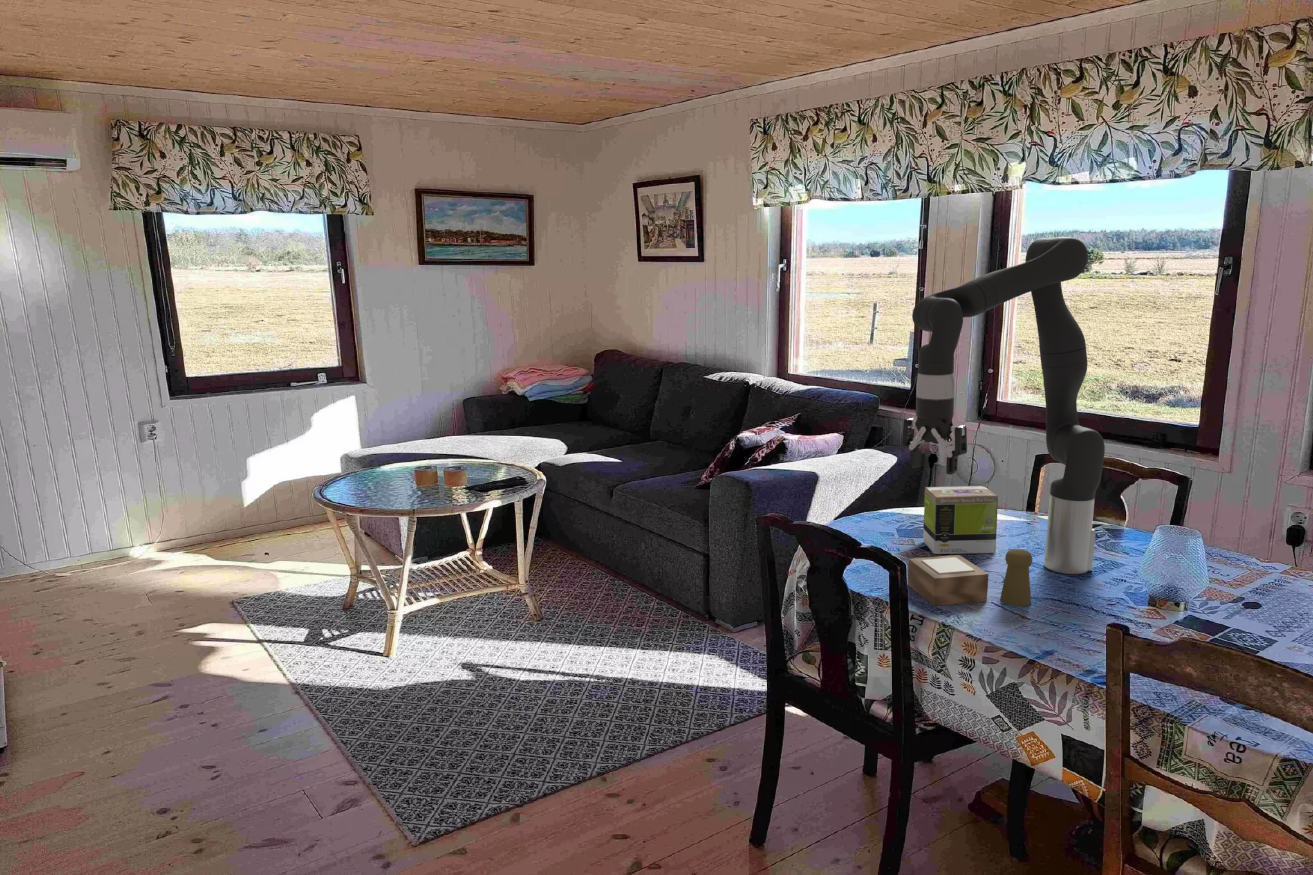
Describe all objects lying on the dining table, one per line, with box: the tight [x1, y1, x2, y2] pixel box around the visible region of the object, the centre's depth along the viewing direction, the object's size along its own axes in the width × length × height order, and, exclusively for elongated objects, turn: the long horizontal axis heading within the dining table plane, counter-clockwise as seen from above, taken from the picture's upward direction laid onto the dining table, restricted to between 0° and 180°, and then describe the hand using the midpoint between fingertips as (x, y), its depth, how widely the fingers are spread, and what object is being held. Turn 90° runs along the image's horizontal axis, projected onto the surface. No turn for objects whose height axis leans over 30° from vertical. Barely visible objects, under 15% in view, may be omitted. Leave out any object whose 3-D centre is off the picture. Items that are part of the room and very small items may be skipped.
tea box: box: [922, 485, 999, 555], centre depth 215 cm, size 15×10×15 cm, turn 89°
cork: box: [999, 548, 1033, 607], centre depth 183 cm, size 6×6×11 cm
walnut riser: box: [907, 554, 990, 607], centre depth 188 cm, size 12×12×6 cm
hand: (932, 470), depth 185 cm, fingers open, 8 cm apart
